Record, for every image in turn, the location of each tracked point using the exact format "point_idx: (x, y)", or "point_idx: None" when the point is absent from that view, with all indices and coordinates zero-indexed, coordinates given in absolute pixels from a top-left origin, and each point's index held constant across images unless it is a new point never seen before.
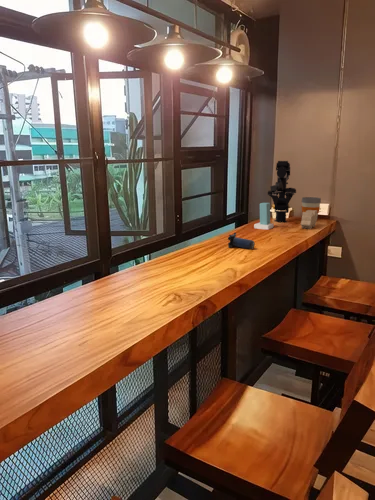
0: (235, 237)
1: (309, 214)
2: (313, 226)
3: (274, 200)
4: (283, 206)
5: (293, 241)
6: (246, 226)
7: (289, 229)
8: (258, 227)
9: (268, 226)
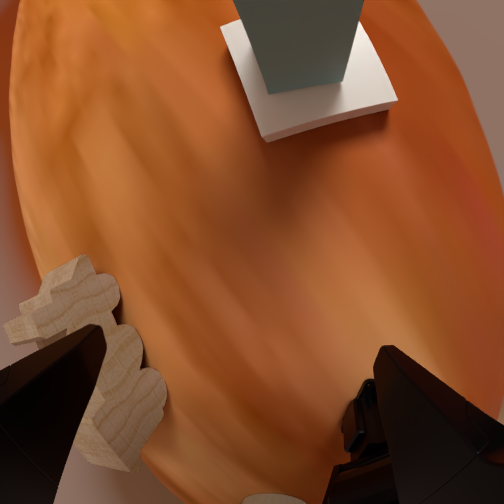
0: None
1: (17, 317)
2: None
3: (440, 419)
4: (355, 488)
5: (30, 15)
6: (429, 33)
7: (133, 174)
8: None
9: (223, 34)
